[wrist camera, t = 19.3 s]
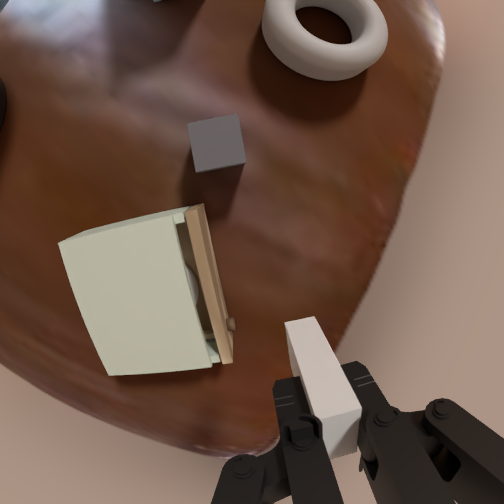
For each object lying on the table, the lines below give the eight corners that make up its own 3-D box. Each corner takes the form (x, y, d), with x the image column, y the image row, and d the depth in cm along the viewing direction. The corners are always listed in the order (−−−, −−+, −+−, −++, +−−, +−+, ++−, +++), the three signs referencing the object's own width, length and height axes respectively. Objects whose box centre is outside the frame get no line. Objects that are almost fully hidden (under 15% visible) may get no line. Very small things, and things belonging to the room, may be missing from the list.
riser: (202, 172, 33) (195, 172, 28) (195, 131, 32) (187, 123, 26) (244, 164, 33) (246, 162, 28) (237, 123, 32) (237, 113, 26)
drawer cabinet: (124, 347, 39) (108, 375, 32) (85, 230, 34) (58, 243, 27) (222, 335, 39) (220, 365, 32) (191, 205, 34) (181, 213, 28)
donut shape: (332, 106, 32) (352, 93, 26) (236, 37, 29) (237, 12, 23) (387, 40, 30) (410, 24, 23) (303, -21, 26) (313, -47, 20)
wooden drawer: (131, 347, 39) (117, 373, 32) (92, 229, 34) (67, 240, 28) (239, 333, 39) (241, 361, 33) (211, 201, 34) (206, 207, 28)
